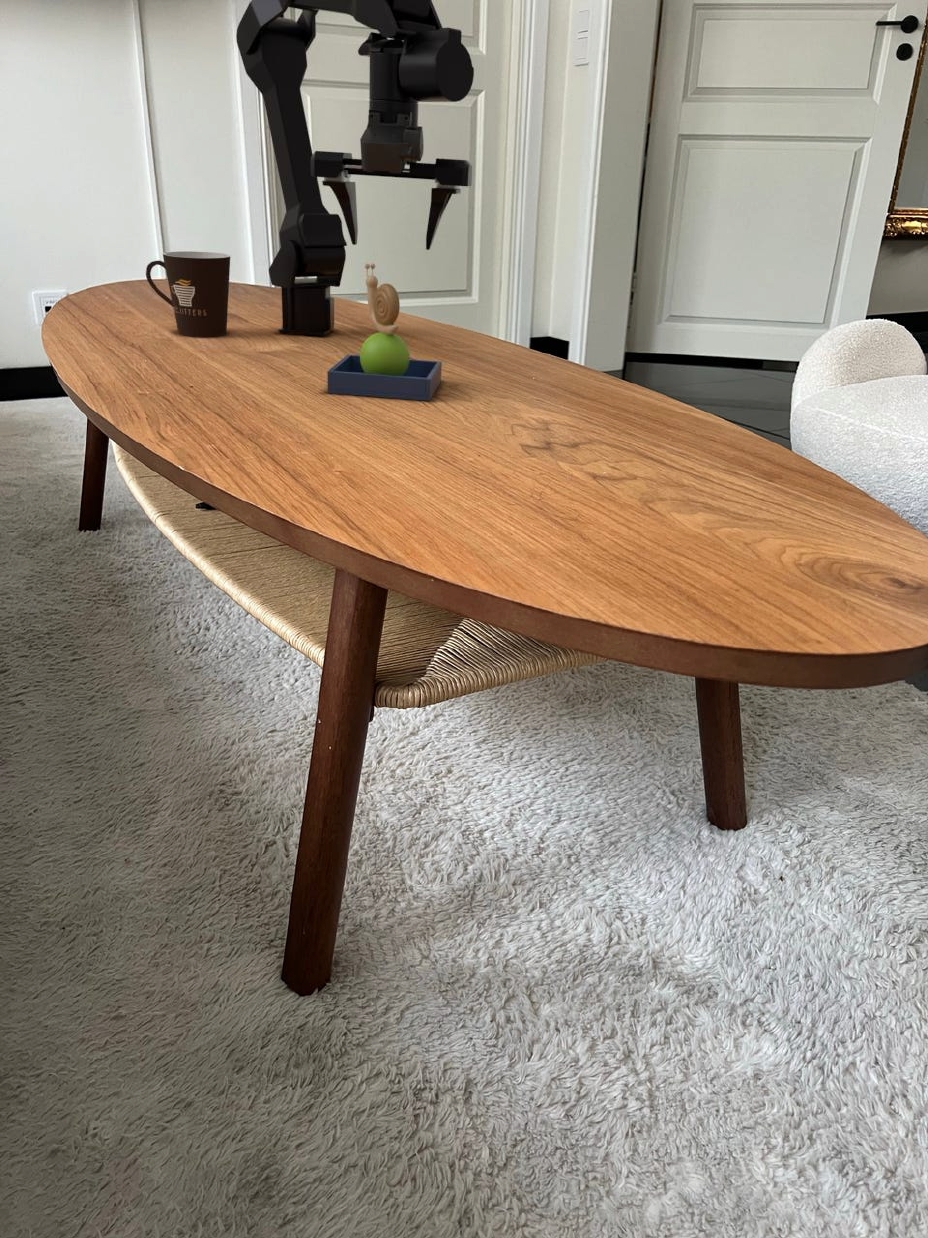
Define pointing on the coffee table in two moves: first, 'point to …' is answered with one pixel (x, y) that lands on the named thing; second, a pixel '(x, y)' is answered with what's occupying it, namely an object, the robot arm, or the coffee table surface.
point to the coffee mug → (196, 291)
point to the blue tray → (385, 380)
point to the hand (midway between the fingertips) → (391, 246)
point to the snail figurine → (383, 332)
